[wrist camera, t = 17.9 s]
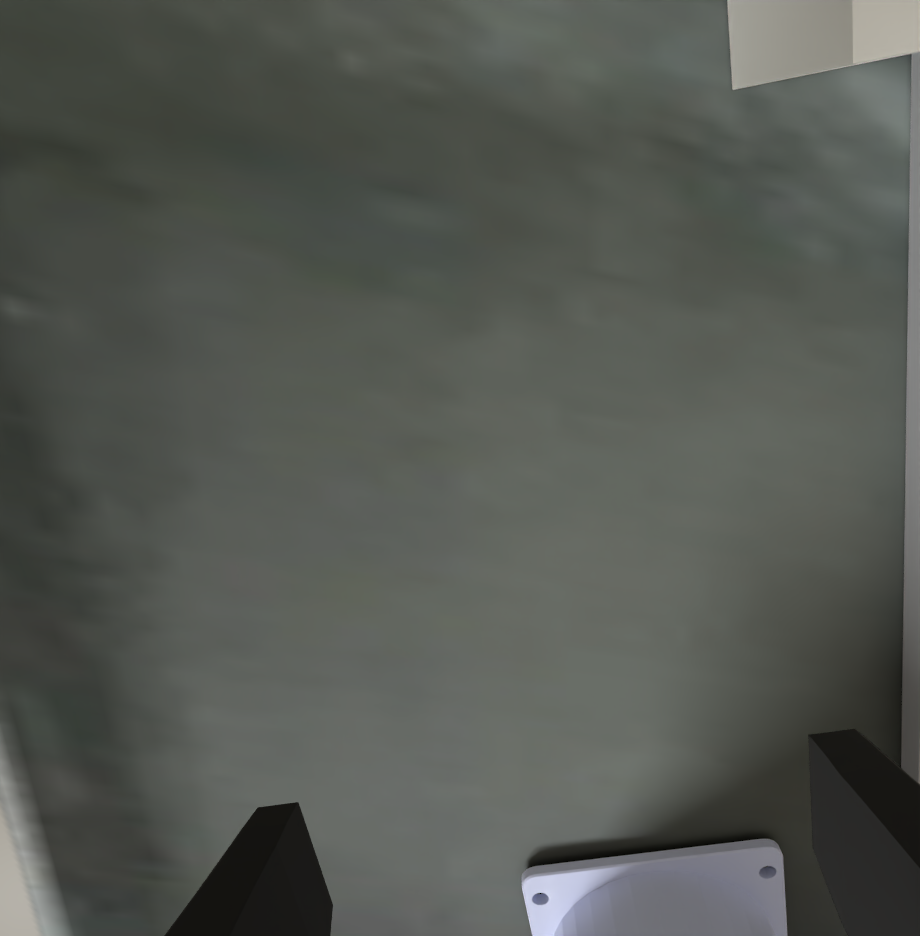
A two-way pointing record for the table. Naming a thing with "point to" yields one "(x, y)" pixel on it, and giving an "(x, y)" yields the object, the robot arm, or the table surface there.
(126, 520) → the table surface
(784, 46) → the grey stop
